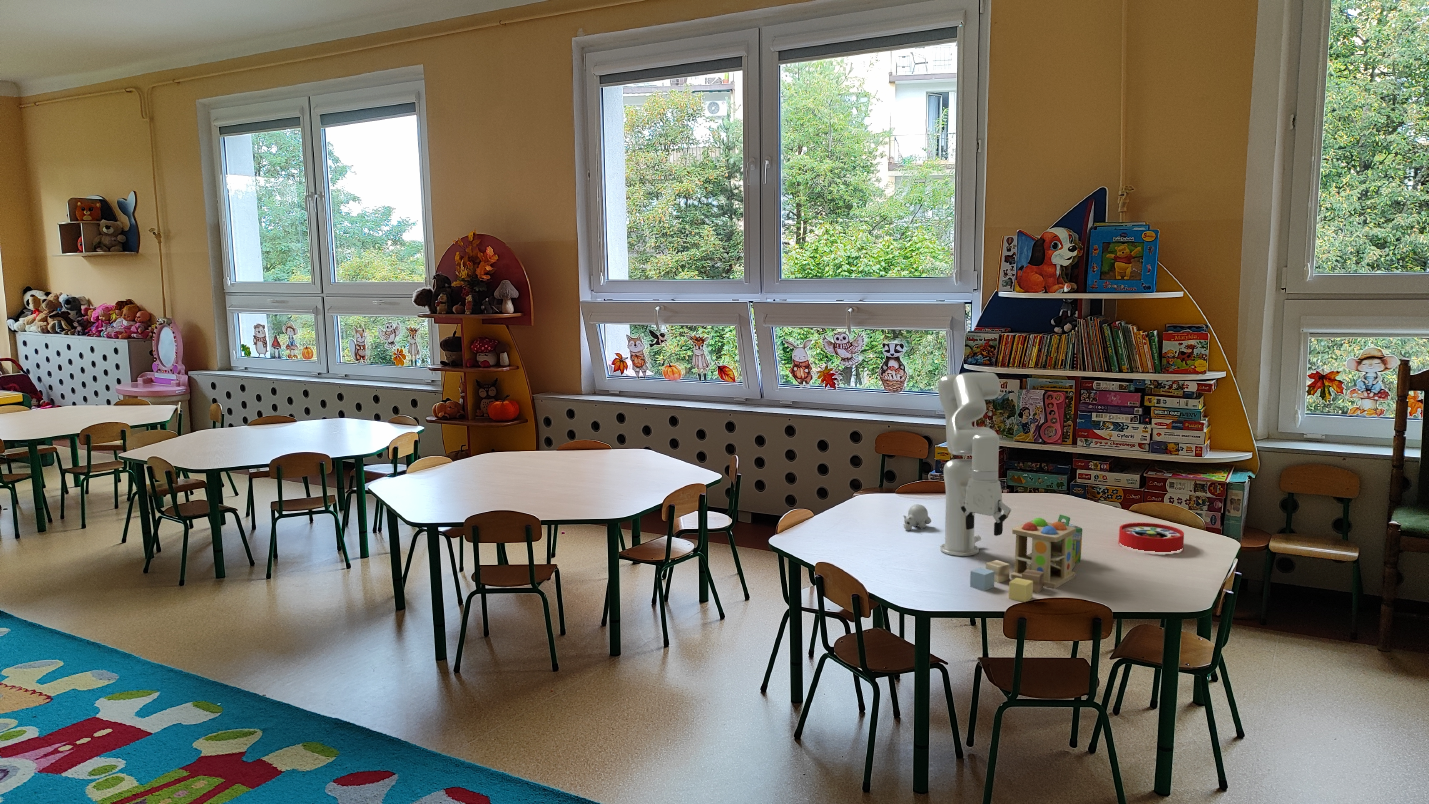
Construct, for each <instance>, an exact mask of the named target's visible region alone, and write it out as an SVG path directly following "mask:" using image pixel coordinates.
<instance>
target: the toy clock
mask: <svg viewBox="0 0 1429 804" xmlns="http://www.w3.org/2000/svg"><path fill="white" fill-rule="evenodd" d="M1184 535H1185V532H1184V531H1183V530H1182V529H1180V528H1177V527H1174V526H1172V525H1167V524H1161V523H1153V522H1129V523H1124V524H1121V525H1120V526H1119V530H1118V543H1119V542H1120V543H1121V544H1122V545H1124V546H1127V547H1131V548H1133V549H1138V550H1144V551H1155V552H1171V551H1177V550H1180V549H1182V548H1183V549H1184V541H1185V536H1184Z"/></svg>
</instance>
